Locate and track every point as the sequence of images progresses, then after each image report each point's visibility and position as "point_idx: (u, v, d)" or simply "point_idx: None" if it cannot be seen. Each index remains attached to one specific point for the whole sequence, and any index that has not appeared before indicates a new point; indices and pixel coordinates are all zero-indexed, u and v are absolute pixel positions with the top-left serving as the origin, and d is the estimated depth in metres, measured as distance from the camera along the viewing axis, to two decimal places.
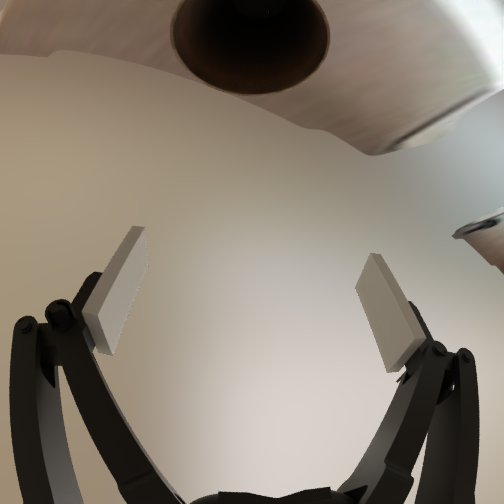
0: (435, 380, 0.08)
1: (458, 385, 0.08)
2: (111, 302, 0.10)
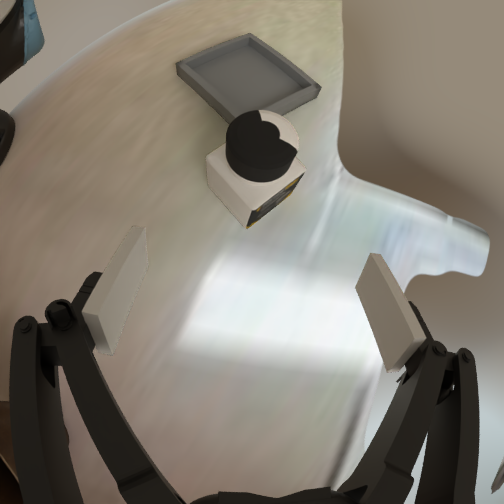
0: (435, 381, 0.08)
1: (458, 385, 0.08)
2: (111, 303, 0.10)
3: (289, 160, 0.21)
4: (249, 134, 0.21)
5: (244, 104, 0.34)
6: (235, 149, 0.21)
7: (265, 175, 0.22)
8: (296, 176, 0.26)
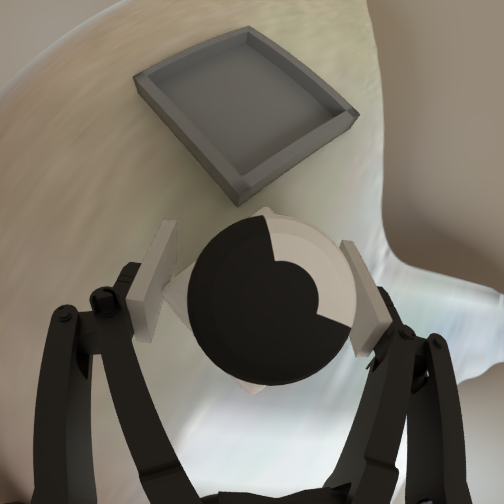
0: (406, 366, 0.09)
1: (433, 373, 0.09)
2: (152, 290, 0.11)
3: (333, 357, 0.09)
4: (242, 310, 0.08)
5: (239, 143, 0.22)
6: (209, 345, 0.09)
7: None
8: None
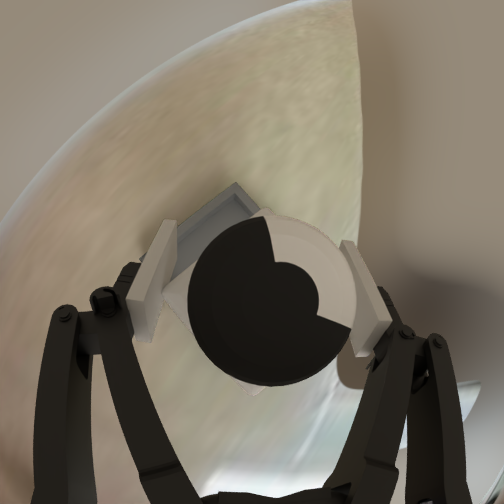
0: (406, 366, 0.09)
1: (433, 373, 0.09)
2: (152, 290, 0.11)
3: (333, 358, 0.09)
4: (242, 311, 0.09)
5: None
6: (209, 346, 0.09)
7: None
8: None
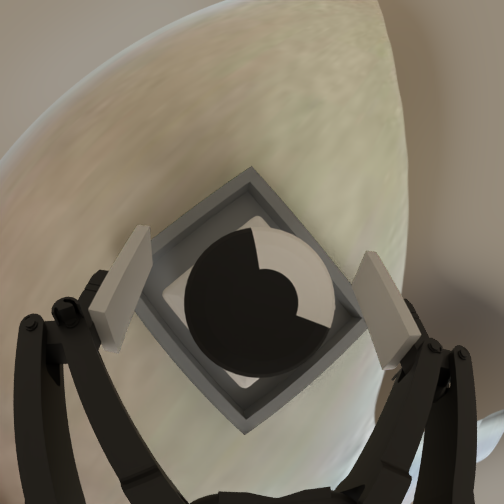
0: (431, 378, 0.09)
1: (454, 383, 0.08)
2: (117, 300, 0.11)
3: (312, 353, 0.10)
4: (230, 311, 0.10)
5: None
6: (203, 341, 0.10)
7: None
8: None
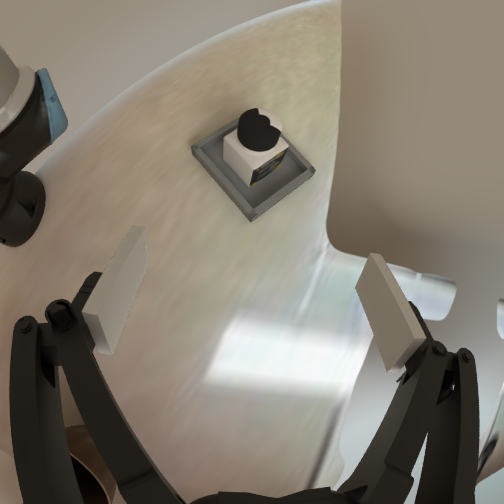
0: (435, 380, 0.08)
1: (458, 385, 0.08)
2: (111, 303, 0.10)
3: (276, 137, 0.35)
4: (252, 122, 0.34)
5: (251, 189, 0.45)
6: (244, 130, 0.34)
7: (261, 146, 0.36)
8: (282, 150, 0.40)
